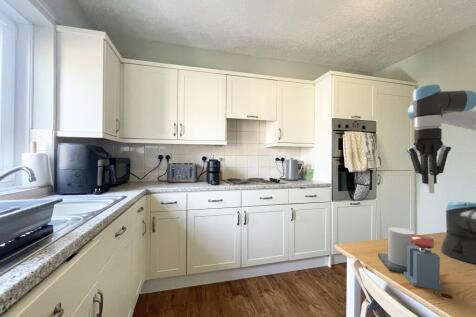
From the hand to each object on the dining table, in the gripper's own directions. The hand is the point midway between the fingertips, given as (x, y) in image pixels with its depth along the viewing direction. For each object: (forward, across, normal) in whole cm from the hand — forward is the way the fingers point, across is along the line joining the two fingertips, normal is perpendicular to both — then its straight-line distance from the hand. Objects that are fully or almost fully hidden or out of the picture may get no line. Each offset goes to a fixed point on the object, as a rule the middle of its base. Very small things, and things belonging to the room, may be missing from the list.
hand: (429, 192), depth 78 cm
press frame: (+29, +8, +9) cm, 31 cm away
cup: (+27, +9, -2) cm, 29 cm away
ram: (+24, +7, +9) cm, 27 cm away
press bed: (+29, +9, -2) cm, 30 cm away
